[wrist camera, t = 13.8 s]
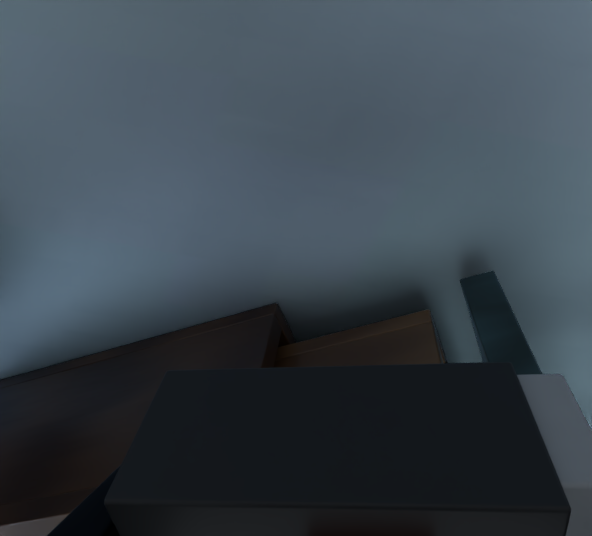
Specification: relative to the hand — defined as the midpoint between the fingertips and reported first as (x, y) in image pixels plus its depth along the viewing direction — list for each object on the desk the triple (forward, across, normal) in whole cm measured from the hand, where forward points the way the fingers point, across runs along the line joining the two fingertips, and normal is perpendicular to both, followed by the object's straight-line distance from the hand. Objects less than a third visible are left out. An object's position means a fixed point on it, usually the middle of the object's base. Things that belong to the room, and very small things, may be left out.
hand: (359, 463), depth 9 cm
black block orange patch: (+1, 0, 0) cm, 1 cm away
